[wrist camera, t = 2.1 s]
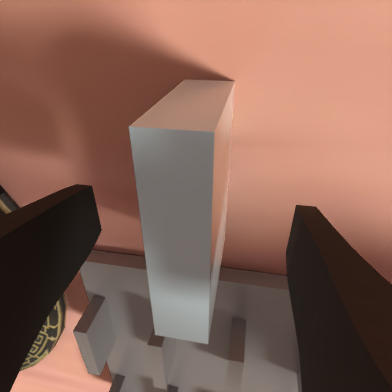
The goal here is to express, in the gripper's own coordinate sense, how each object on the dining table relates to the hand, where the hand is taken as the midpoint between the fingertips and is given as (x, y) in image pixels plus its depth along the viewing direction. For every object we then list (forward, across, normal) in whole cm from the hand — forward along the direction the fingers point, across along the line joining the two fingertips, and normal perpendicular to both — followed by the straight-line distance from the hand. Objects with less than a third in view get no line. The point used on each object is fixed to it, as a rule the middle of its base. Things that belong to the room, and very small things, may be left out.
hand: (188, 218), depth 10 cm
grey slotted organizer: (+4, 0, +16) cm, 17 cm away
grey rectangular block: (+4, 0, 0) cm, 4 cm away
